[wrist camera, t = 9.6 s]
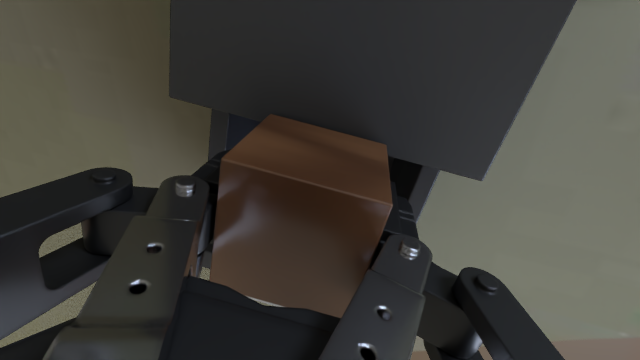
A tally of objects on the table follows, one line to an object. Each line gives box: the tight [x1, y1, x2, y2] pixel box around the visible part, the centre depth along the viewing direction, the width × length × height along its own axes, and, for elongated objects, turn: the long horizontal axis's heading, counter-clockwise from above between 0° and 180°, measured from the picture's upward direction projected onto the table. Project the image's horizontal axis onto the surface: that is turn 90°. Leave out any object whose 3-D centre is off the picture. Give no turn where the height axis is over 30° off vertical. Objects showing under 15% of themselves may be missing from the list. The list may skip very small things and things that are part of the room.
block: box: [209, 114, 393, 318], centre depth 11 cm, size 4×4×4 cm
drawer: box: [202, 109, 440, 307], centre depth 19 cm, size 18×11×8 cm, turn 167°
